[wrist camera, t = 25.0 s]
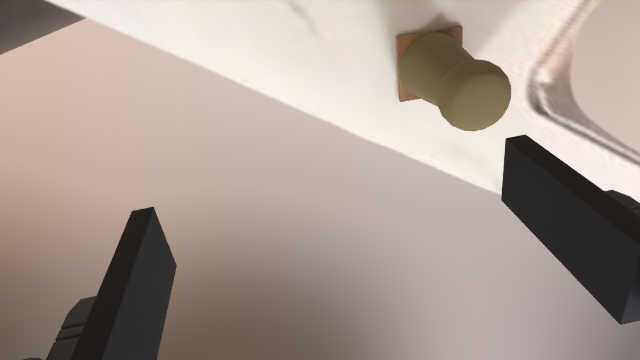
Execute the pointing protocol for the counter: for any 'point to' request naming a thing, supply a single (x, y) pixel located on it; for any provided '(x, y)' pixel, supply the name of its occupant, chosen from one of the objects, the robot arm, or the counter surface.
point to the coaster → (404, 42)
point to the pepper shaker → (455, 81)
